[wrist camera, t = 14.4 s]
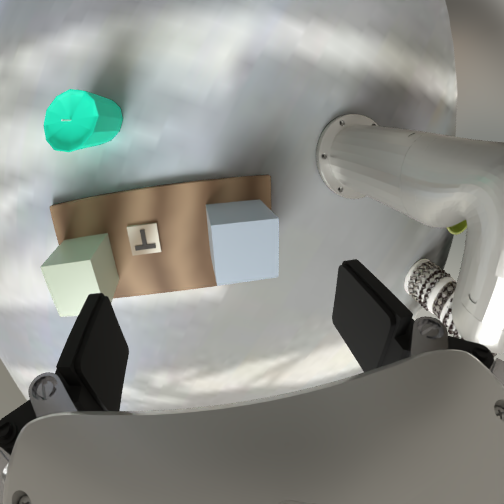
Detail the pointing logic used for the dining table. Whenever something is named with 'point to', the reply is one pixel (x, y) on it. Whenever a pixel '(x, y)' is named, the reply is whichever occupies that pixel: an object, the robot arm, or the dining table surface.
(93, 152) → the dining table surface
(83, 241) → the pale green block
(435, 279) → the decorative candle
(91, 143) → the candle
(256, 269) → the blue cover
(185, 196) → the board
